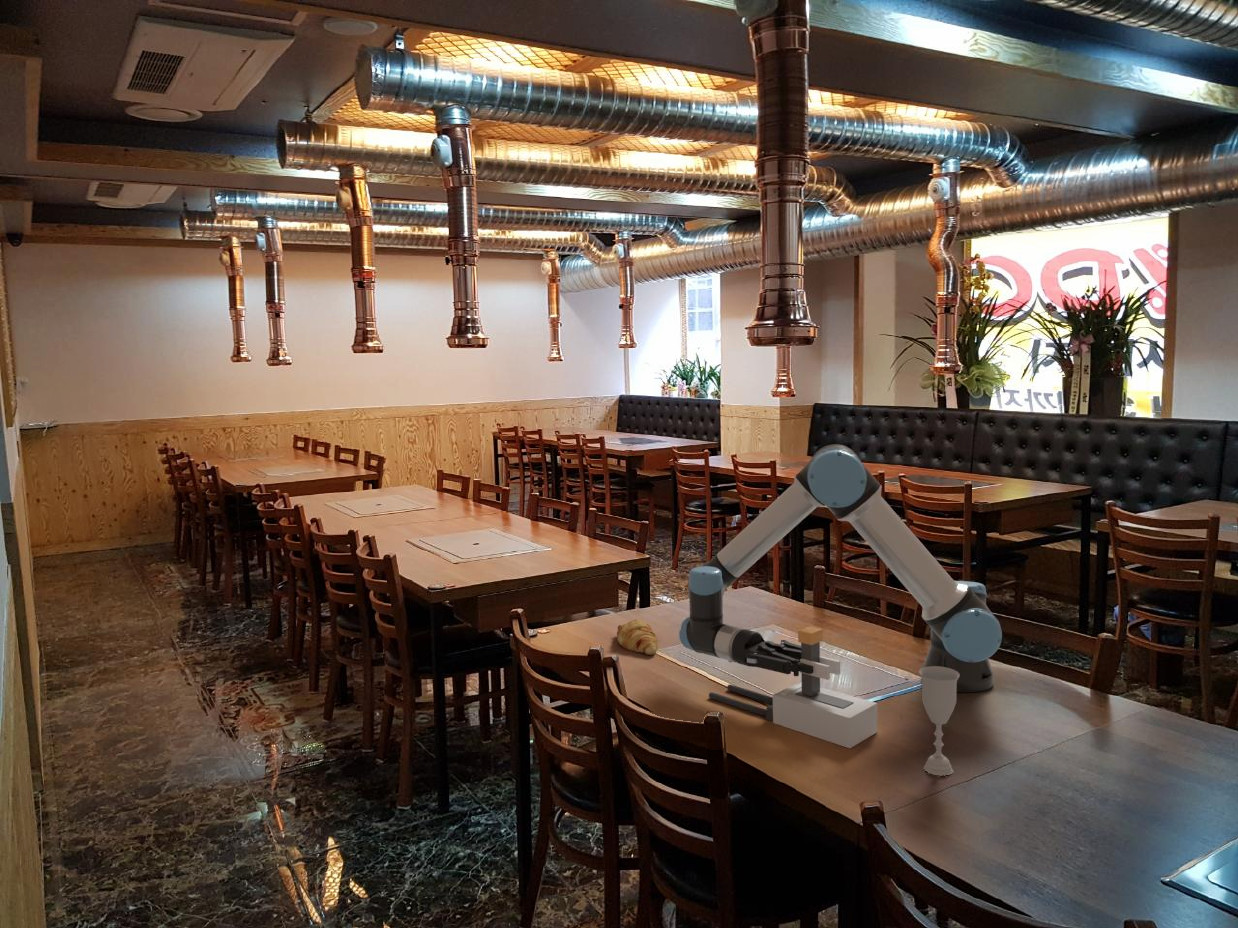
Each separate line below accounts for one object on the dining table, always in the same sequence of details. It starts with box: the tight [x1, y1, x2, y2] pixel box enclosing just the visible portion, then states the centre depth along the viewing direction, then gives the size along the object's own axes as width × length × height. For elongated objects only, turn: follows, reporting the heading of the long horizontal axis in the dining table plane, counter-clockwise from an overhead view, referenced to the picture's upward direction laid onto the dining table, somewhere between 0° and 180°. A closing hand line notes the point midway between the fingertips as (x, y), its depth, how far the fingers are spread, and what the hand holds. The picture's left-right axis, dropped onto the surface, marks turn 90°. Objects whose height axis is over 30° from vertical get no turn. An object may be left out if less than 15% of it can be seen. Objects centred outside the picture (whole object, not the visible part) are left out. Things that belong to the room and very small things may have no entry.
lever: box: [797, 626, 823, 696], centre depth 178 cm, size 3×4×13 cm
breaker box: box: [772, 681, 878, 749], centre depth 177 cm, size 18×10×6 cm, turn 44°
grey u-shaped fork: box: [708, 684, 773, 722], centre depth 190 cm, size 19×9×3 cm, turn 44°
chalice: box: [918, 666, 960, 777], centre depth 156 cm, size 7×7×18 cm
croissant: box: [616, 619, 659, 656], centre depth 233 cm, size 21×10×8 cm, turn 25°
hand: (833, 670), depth 174 cm, fingers closed on lever, 3 cm apart
